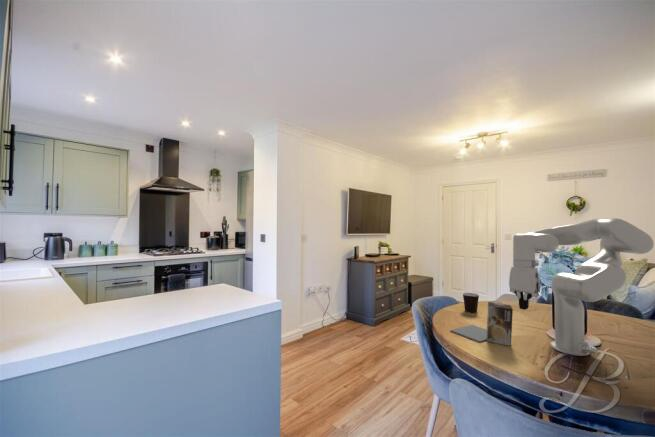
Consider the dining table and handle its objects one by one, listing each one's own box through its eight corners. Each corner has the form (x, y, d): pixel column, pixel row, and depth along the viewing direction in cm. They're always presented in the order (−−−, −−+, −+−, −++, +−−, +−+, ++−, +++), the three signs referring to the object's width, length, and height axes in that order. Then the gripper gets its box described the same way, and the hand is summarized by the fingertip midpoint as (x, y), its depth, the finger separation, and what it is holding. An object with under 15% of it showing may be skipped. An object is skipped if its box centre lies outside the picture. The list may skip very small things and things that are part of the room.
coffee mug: (467, 308, 181) (466, 291, 181) (481, 311, 174) (481, 294, 174) (457, 312, 173) (457, 295, 174) (472, 315, 167) (472, 297, 167)
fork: (562, 365, 110) (562, 360, 110) (620, 386, 96) (620, 380, 96) (559, 367, 108) (559, 361, 108) (617, 389, 94) (617, 382, 94)
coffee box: (509, 340, 132) (511, 304, 131) (511, 346, 126) (513, 309, 125) (485, 335, 136) (488, 301, 135) (486, 341, 130) (489, 305, 129)
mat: (501, 335, 137) (501, 334, 137) (479, 342, 130) (479, 341, 130) (471, 325, 151) (471, 324, 151) (450, 331, 143) (450, 330, 143)
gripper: (549, 265, 117) (549, 312, 116) (510, 261, 130) (510, 303, 129) (539, 267, 113) (539, 315, 113) (500, 262, 126) (500, 305, 126)
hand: (523, 308), depth 121 cm, fingers closed
